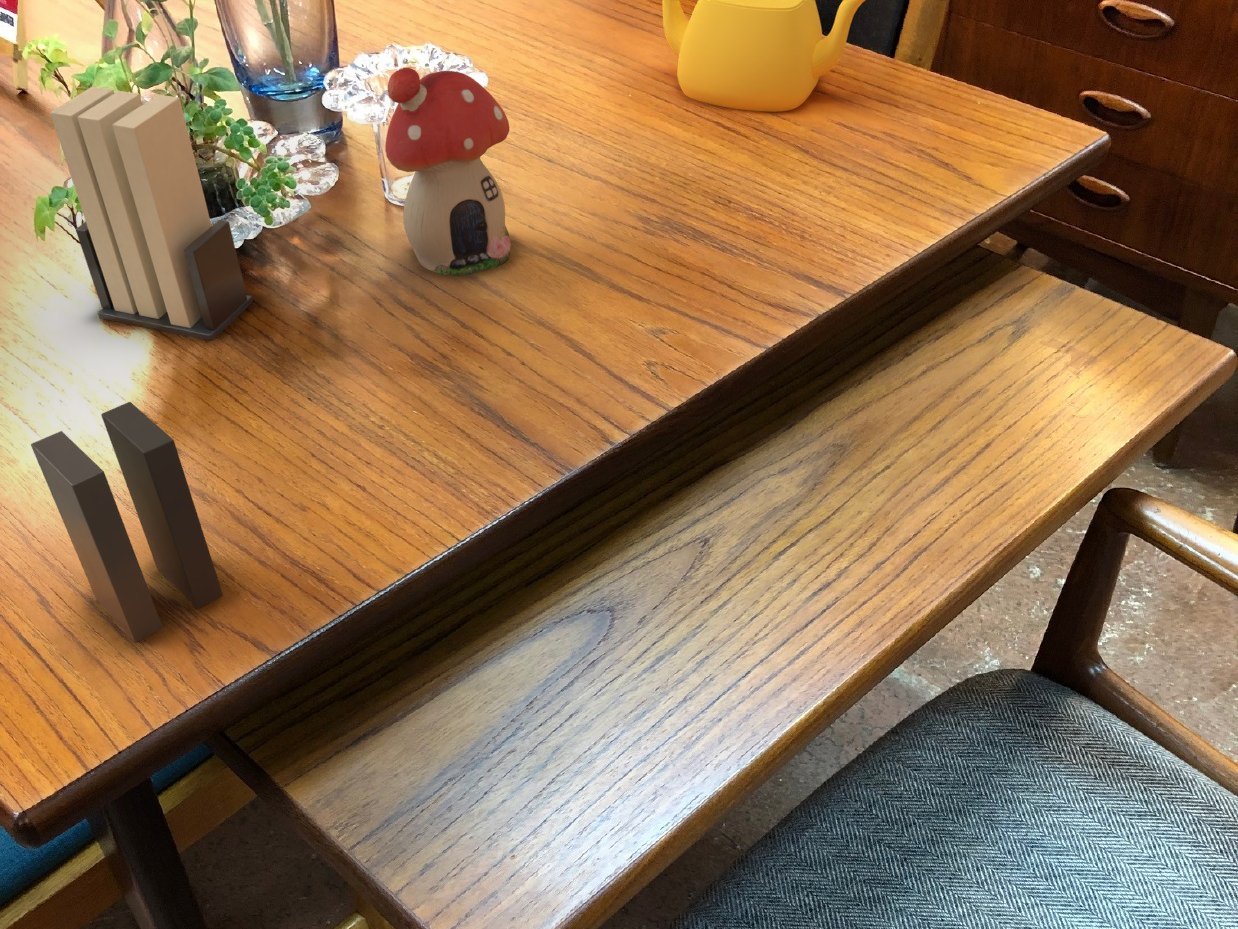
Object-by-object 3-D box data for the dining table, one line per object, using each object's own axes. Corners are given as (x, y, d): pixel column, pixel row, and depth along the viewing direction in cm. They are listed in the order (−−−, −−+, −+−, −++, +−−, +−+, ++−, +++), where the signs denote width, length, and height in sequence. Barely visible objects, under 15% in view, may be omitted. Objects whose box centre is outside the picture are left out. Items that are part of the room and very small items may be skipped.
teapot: (879, 73, 119) (898, -46, 111) (845, 134, 109) (863, 7, 101) (670, 43, 124) (675, -73, 117) (619, 98, 114) (620, -25, 106)
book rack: (100, 324, 85) (69, 233, 80) (146, 286, 89) (118, 197, 84) (213, 347, 83) (188, 255, 78) (255, 308, 87) (233, 217, 82)
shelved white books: (114, 310, 84) (49, 112, 75) (150, 281, 87) (92, 86, 77) (158, 319, 84) (98, 120, 74) (193, 289, 87) (140, 93, 77)
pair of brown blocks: (138, 649, 63) (71, 485, 55) (99, 607, 65) (29, 443, 57) (225, 602, 65) (174, 439, 57) (185, 562, 67) (130, 400, 60)
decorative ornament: (411, 291, 89) (384, 85, 78) (390, 251, 93) (361, 50, 82) (530, 268, 91) (520, 66, 80) (503, 230, 95) (490, 33, 85)
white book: (170, 324, 83) (111, 124, 73) (209, 289, 87) (158, 94, 77) (190, 328, 83) (133, 128, 73) (228, 293, 86) (179, 97, 76)
